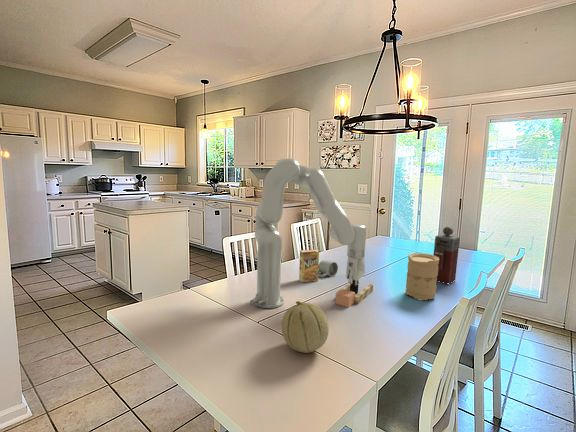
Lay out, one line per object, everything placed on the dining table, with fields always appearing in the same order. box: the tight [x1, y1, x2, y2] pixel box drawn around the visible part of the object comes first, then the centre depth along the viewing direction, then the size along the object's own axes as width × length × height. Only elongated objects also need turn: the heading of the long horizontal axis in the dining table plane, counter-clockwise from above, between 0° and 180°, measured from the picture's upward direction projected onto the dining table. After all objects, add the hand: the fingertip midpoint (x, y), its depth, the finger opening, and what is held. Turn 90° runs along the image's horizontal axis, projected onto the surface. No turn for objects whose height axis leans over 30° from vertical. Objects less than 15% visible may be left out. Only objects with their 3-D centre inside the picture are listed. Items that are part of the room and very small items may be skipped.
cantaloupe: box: [281, 300, 330, 354], centre depth 101 cm, size 15×15×15 cm
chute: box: [336, 283, 374, 305], centre depth 146 cm, size 18×10×3 cm, turn 146°
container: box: [405, 252, 439, 301], centre depth 146 cm, size 13×13×18 cm
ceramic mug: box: [318, 259, 339, 278], centre depth 172 cm, size 11×8×8 cm
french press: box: [433, 226, 461, 285], centre depth 165 cm, size 9×11×28 cm
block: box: [335, 288, 356, 308], centre depth 137 cm, size 6×6×4 cm
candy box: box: [298, 249, 320, 283], centre depth 162 cm, size 9×4×15 cm, turn 107°
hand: (353, 293), depth 144 cm, fingers closed
